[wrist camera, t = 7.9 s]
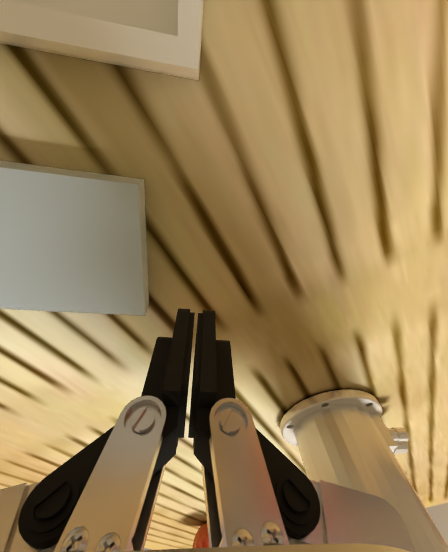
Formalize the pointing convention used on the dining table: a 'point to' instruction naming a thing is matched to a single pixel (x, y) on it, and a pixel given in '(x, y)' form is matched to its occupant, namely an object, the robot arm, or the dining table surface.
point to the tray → (110, 31)
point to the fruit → (202, 537)
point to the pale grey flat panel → (72, 241)
